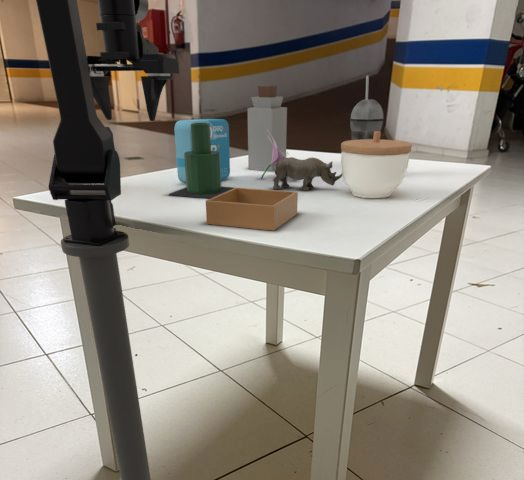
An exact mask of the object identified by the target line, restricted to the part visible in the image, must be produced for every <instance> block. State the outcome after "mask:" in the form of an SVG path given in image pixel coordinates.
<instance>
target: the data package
mask: <svg viewBox="0 0 524 480" xmlns="http://www.w3.org/2000/svg"><path fill="white" fill-rule="evenodd" d="M192 123H209V124H210V142H211V151H218V152H220V174H221V181H225V180H227V179H228V178H229V177H230V174H231V162H230V160H231V158H230V156H231V155H230V126H229V122H228V121H227V119H221V118H201V119H199V118H197V119H180V120H177V121H176V122H175V124H174V141H175V143H174V144H175V156H176V170H177V178H178V180H179V182H180V183H182V184H186V173H185V159H184V153H185V152H188V151H193V148H192V134H191V124H192Z"/></svg>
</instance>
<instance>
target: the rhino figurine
mask: <svg viewBox="0 0 524 480" xmlns="http://www.w3.org/2000/svg"><path fill="white" fill-rule="evenodd" d="M332 168H333V161H330V162H329V163H326V162H324V161H323V160H321V159H319V158H317V157H308V158H305V159H300V158H296V157H292V156H291V157H286V158H281V159H280V160H279V161H278V162H277V164H276V170H275V171H274V175H275V176H274V178H273V179H272V180H273V186H272V189H273V190H281V188H290V184H289V183H288V180H287V177H288V178H290V179H292V180H293V181H302V185H301V189H302V190H303V191H310V189H314V188H315V187H314V185H313V180H314V179H315V178H317V177H318V178H319V177H320V178H321V180H322V181H323V182H324V183H326V184H327V185H330V186H332V187H333V186H334V185H335V184H336V181H338V180H340V179H341V178H343V176H342V173H340V175H336V174H337V171H334V172H332V171H331V169H332ZM280 182H281V185H280Z"/></svg>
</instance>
